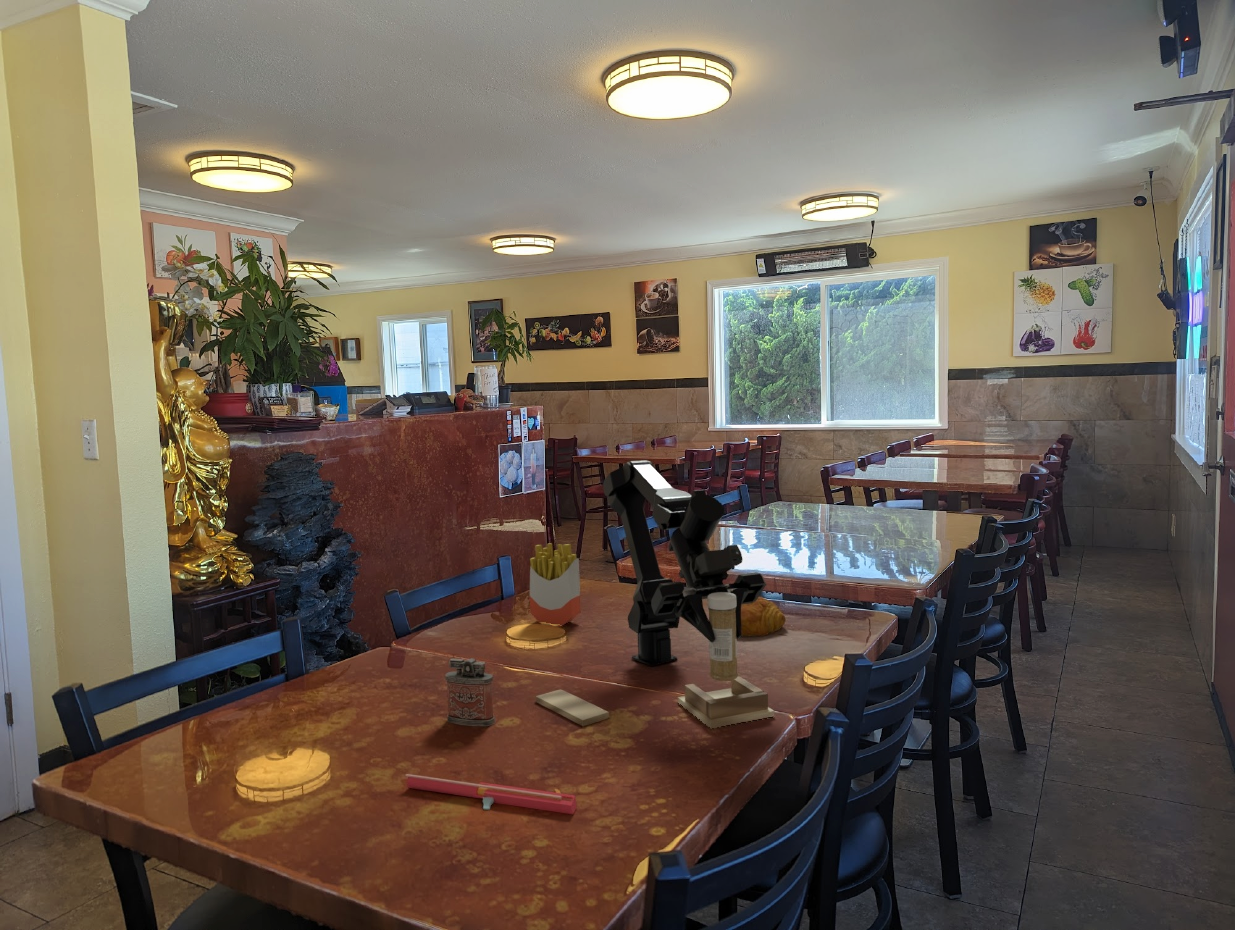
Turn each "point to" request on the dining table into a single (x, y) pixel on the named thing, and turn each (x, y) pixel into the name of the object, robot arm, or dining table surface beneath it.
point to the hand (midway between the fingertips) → (726, 638)
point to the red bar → (497, 794)
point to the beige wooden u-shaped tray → (727, 703)
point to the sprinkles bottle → (723, 636)
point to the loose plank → (572, 707)
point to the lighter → (469, 693)
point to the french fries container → (554, 585)
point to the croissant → (761, 618)
